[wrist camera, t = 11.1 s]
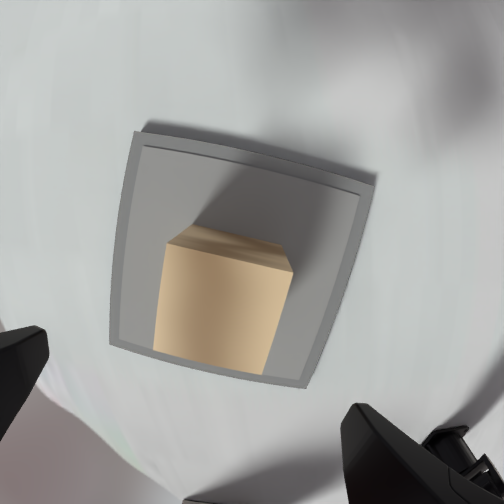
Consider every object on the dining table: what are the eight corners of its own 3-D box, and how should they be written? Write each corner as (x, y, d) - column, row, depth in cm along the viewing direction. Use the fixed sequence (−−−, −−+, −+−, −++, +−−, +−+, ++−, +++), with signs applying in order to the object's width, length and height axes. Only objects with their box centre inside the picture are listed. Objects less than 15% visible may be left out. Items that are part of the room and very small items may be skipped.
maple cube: (281, 244, 16) (293, 272, 11) (259, 324, 17) (261, 374, 12) (192, 224, 16) (166, 243, 11) (177, 305, 17) (153, 349, 12)
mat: (369, 186, 16) (375, 186, 15) (304, 382, 19) (306, 389, 19) (139, 133, 15) (133, 130, 15) (113, 338, 19) (108, 345, 18)
